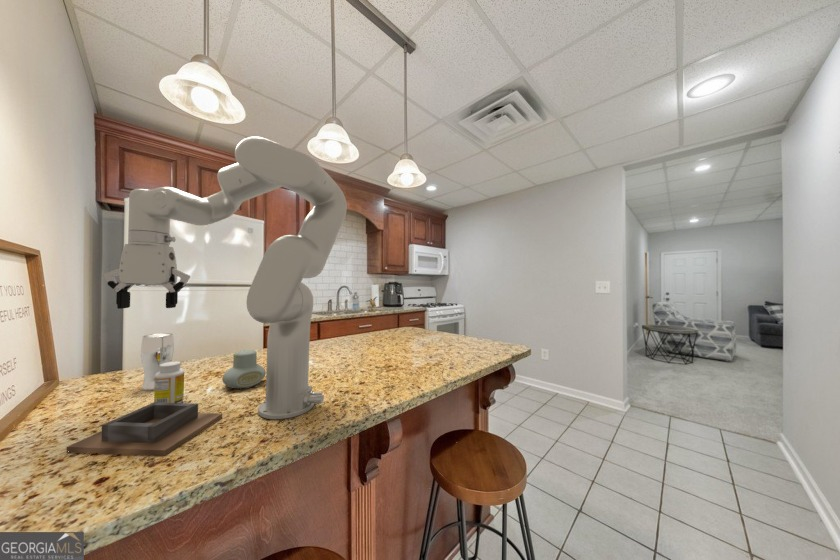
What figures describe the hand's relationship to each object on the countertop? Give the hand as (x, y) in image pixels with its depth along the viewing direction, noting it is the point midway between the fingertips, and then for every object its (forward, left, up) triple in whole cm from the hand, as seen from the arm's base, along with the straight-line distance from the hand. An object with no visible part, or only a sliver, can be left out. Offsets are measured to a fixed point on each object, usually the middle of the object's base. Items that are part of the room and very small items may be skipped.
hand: (147, 307), depth 71 cm
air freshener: (-16, -14, -24) cm, 32 cm away
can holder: (-15, +13, -24) cm, 31 cm away
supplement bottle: (-6, 0, -24) cm, 25 cm away
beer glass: (+8, -11, -24) cm, 28 cm away
